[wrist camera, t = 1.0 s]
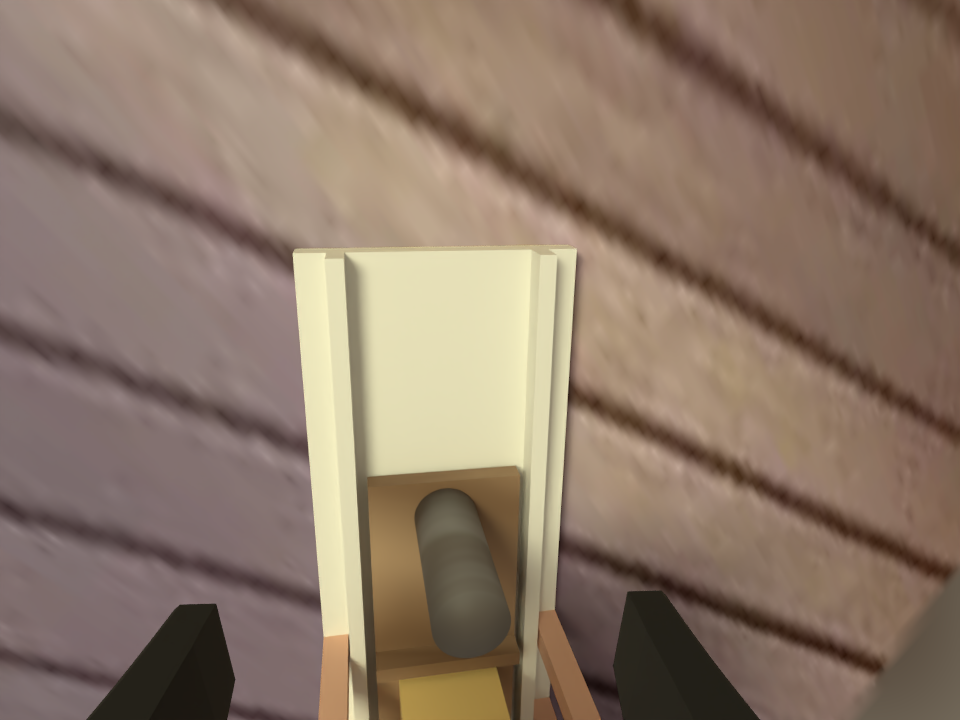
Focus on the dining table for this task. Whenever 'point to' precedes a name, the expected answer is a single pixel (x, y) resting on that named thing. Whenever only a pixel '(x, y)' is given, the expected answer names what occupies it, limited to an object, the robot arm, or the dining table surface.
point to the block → (454, 697)
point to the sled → (443, 576)
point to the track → (437, 431)
